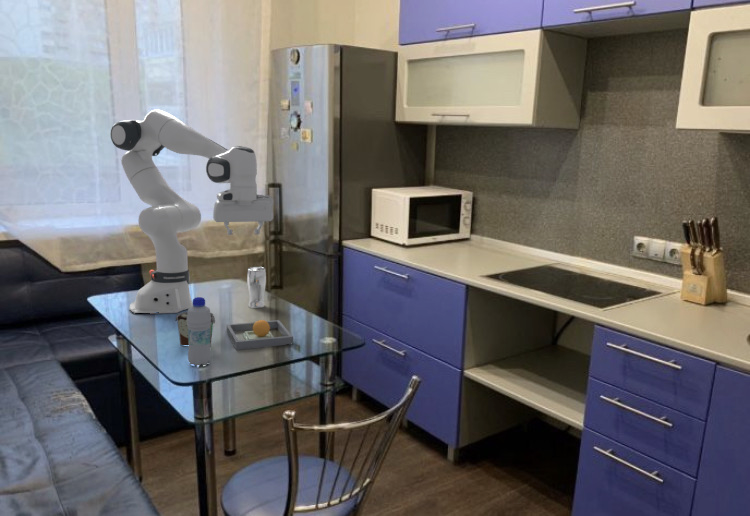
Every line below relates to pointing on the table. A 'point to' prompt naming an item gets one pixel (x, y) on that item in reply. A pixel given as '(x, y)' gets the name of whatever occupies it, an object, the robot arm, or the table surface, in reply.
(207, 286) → the table surface
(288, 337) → the low wall pen
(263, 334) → the ball
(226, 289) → the table surface
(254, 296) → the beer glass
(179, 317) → the food container
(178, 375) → the table surface
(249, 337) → the resting pad
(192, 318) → the bottle
